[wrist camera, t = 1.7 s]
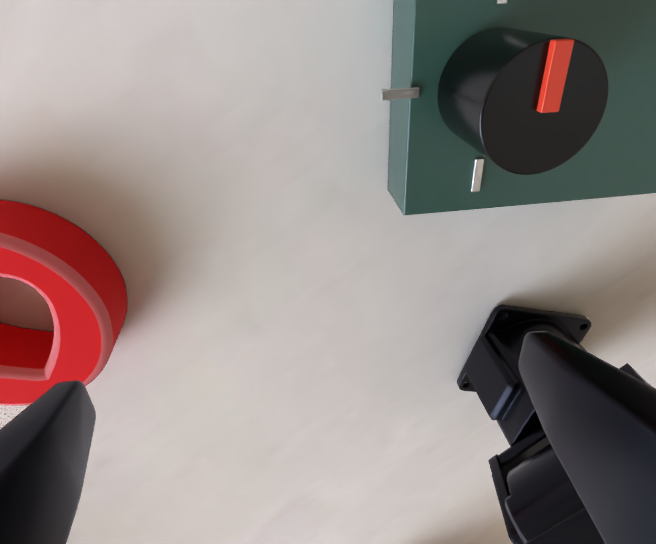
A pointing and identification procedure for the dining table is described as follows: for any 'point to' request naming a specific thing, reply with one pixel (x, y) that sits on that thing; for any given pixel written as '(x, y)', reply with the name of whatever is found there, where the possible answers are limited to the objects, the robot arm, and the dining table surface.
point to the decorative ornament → (57, 303)
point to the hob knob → (523, 97)
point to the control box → (472, 167)
